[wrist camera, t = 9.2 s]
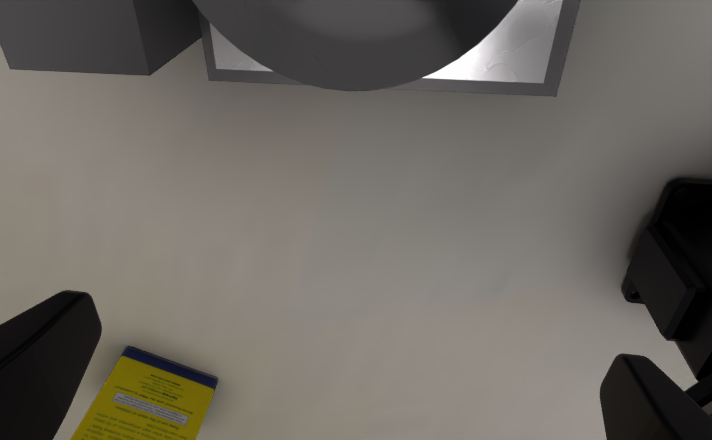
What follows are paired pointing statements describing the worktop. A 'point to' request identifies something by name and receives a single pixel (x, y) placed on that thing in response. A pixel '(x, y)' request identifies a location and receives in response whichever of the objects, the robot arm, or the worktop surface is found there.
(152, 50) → the dark grey u-shaped piece
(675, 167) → the worktop surface
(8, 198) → the worktop surface
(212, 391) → the supplement box
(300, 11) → the cylinder
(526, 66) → the pan
